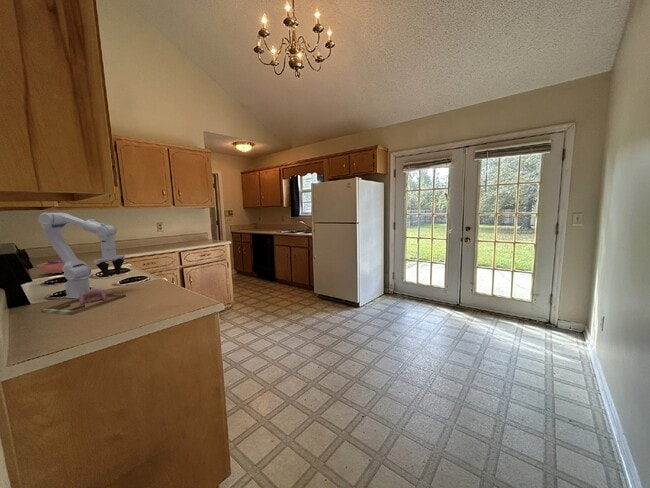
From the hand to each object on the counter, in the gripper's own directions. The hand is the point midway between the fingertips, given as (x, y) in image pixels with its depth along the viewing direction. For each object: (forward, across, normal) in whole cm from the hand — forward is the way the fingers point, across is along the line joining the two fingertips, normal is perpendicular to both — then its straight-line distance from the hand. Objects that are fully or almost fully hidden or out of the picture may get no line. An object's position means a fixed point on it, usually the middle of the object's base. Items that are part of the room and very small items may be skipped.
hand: (112, 275), depth 140 cm
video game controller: (+11, -11, 0) cm, 15 cm away
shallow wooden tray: (+10, -14, 0) cm, 17 cm away
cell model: (+11, +36, +94) cm, 101 cm away
